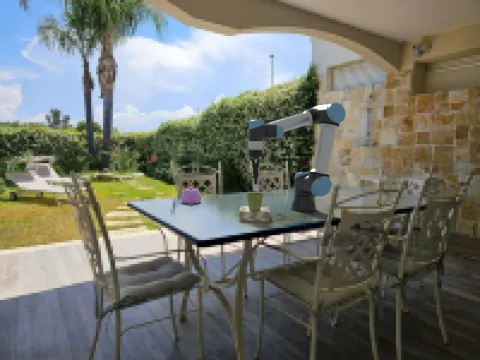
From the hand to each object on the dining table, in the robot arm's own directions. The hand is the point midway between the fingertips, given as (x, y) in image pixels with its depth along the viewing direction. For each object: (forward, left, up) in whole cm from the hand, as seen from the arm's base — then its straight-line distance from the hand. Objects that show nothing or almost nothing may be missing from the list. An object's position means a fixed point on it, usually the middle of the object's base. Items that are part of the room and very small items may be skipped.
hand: (255, 188), depth 195 cm
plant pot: (0, +4, -11) cm, 12 cm away
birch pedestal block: (0, 0, -16) cm, 16 cm away
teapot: (+42, -49, -16) cm, 67 cm away
